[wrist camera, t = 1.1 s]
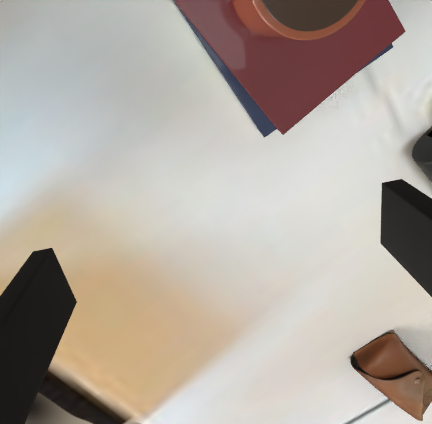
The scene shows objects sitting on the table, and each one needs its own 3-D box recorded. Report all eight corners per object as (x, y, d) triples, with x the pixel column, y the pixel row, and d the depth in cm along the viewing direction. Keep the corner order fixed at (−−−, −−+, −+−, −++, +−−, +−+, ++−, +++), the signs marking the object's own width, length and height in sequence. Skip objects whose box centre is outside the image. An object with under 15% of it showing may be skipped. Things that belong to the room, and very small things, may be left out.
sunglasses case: (449, 382, 60) (454, 424, 56) (407, 382, 65) (409, 422, 61) (392, 329, 54) (392, 373, 50) (350, 334, 59) (348, 374, 55)
